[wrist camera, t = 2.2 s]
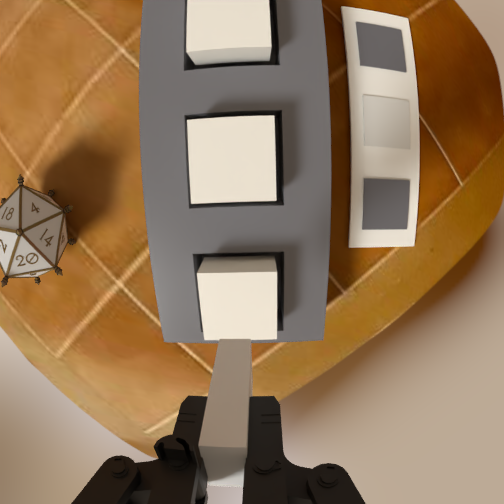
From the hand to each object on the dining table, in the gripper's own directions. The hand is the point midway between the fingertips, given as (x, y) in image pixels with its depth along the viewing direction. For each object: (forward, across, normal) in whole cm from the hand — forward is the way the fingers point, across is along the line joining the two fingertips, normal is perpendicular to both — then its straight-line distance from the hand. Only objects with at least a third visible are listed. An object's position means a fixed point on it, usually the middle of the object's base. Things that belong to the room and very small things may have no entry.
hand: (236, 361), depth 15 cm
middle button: (+8, 0, +9) cm, 12 cm away
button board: (+11, 0, +10) cm, 14 cm away
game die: (+11, -17, +6) cm, 21 cm away
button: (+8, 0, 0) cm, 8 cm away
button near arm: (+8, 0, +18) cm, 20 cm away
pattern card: (+11, +11, +12) cm, 20 cm away
